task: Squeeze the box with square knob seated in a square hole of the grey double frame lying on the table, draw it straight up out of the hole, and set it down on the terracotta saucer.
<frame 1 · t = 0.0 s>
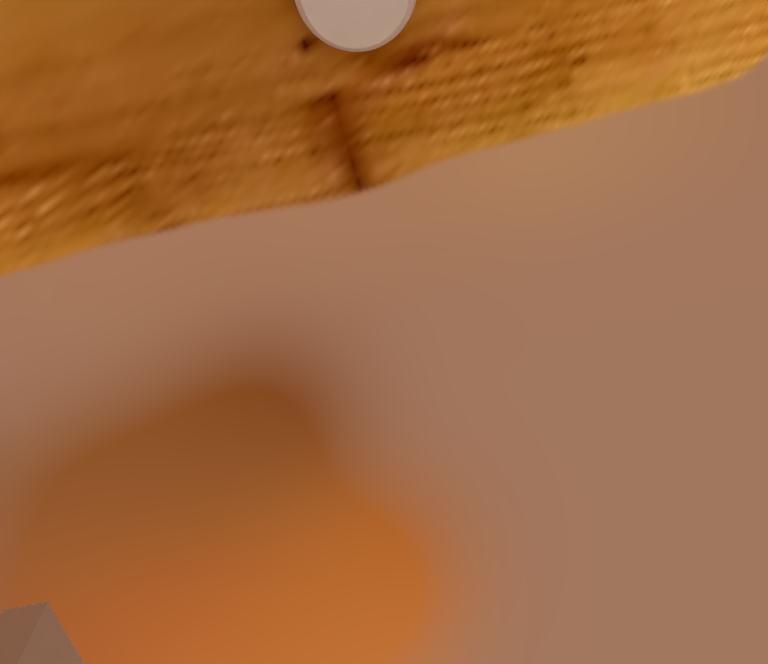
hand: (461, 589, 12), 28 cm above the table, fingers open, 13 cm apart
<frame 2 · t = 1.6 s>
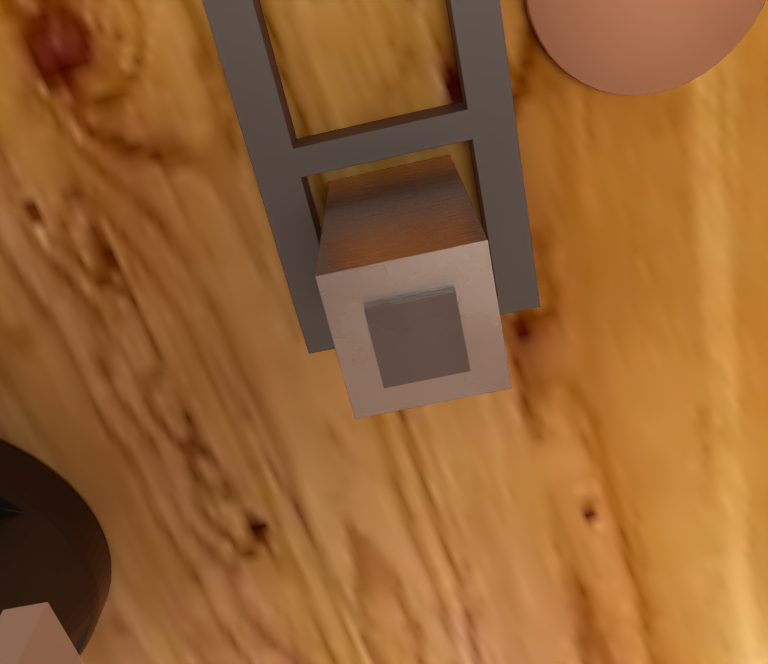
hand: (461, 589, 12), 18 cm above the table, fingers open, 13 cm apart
grey double frame: (381, 134, 26), on the table
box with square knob: (401, 225, 28), resting in grey double frame
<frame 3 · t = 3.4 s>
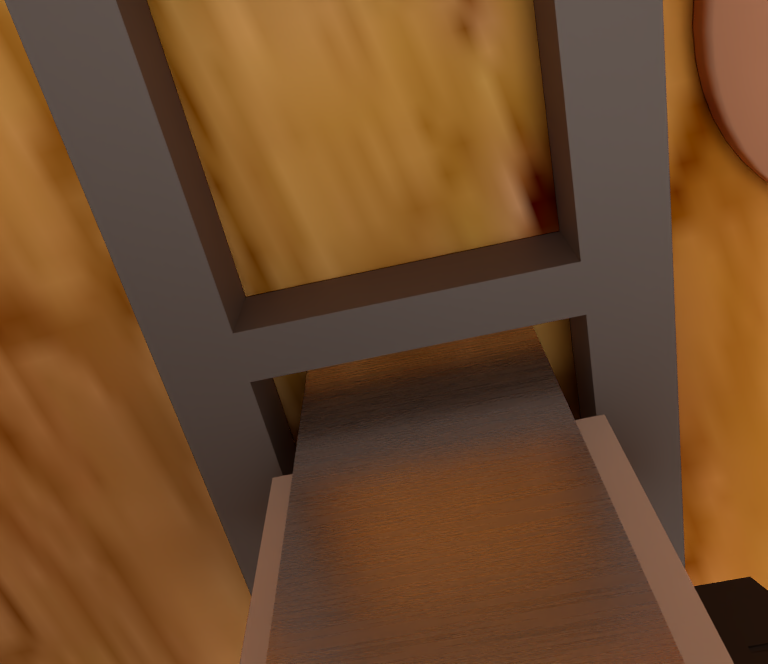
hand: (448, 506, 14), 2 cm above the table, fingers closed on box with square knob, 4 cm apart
grey double frame: (405, 288, 14), on the table
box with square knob: (438, 436, 16), resting in grey double frame, touching gripper
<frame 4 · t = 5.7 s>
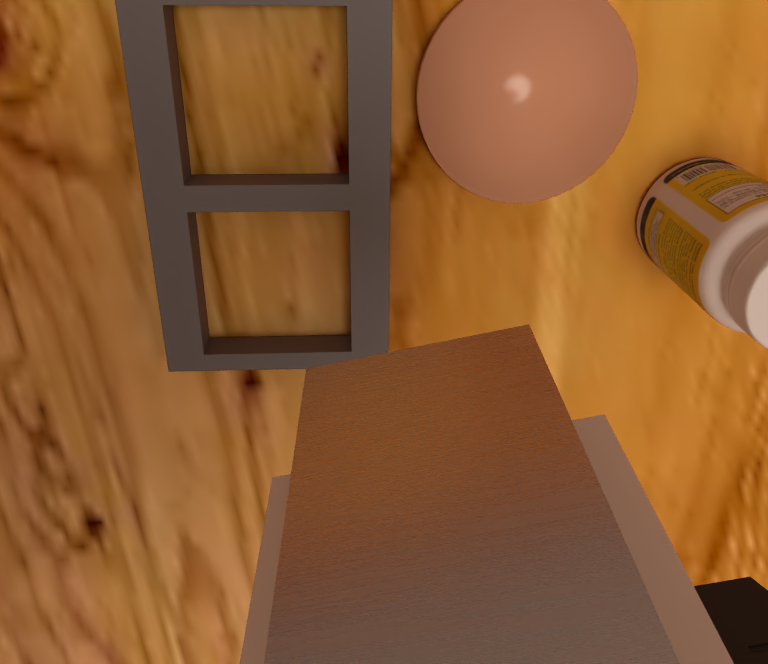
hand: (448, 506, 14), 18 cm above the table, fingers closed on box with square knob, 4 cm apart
grey double frame: (271, 186, 28), on the table
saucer: (522, 92, 27), on the table
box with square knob: (436, 438, 16), point 15 cm above the table, touching gripper
supplement bottle: (689, 212, 30), on the table
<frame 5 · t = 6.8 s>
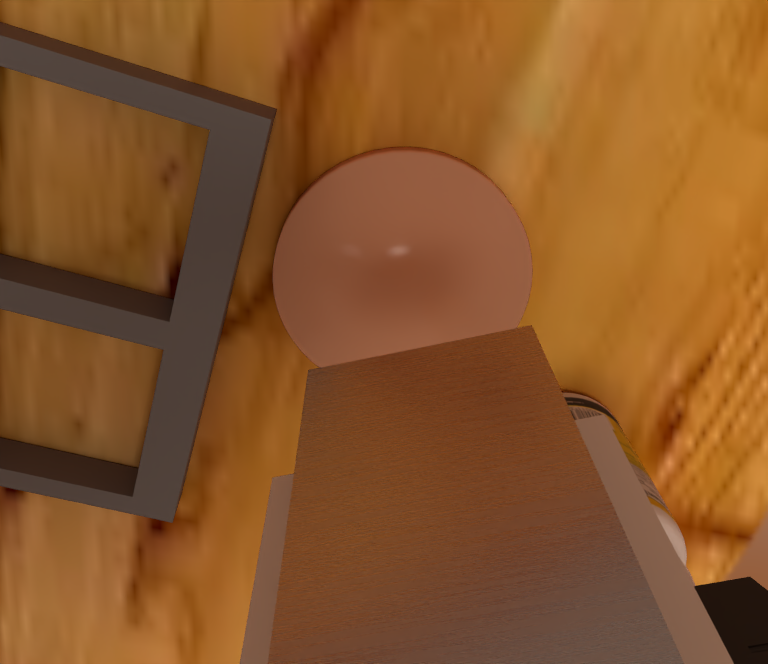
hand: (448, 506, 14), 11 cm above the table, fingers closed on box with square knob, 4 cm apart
grey double frame: (82, 290, 23), on the table
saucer: (401, 273, 23), on the table
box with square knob: (439, 439, 16), point 9 cm above the table, touching gripper
supplement bottle: (552, 440, 27), on the table
when the fingers open (4 cm above the table, at t = 7.7 s): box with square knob drops 1 cm, resting on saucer.
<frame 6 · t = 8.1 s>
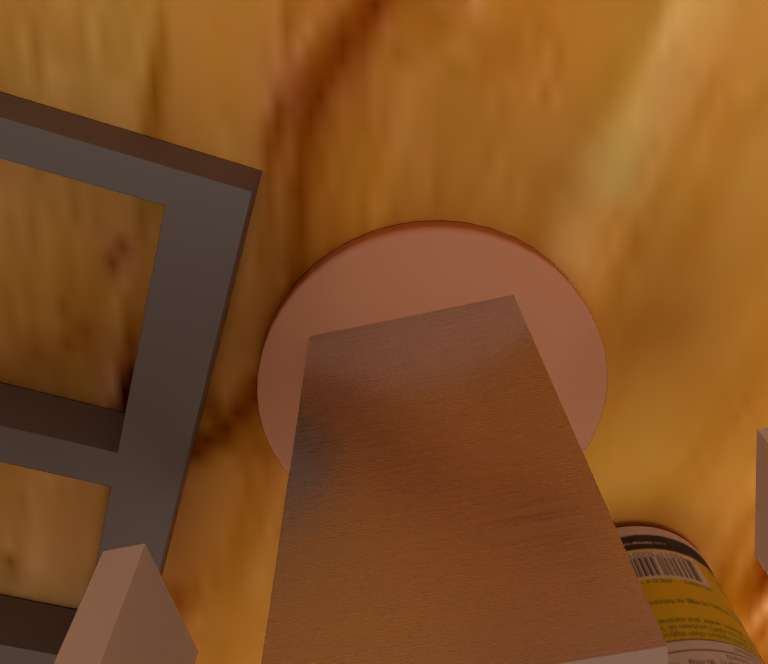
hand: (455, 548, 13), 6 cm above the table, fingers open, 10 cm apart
grey double frame: (6, 401, 18), on the table
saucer: (429, 381, 18), on the table
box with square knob: (429, 401, 17), point 1 cm above the table, touching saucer
supplement bottle: (619, 579, 21), on the table
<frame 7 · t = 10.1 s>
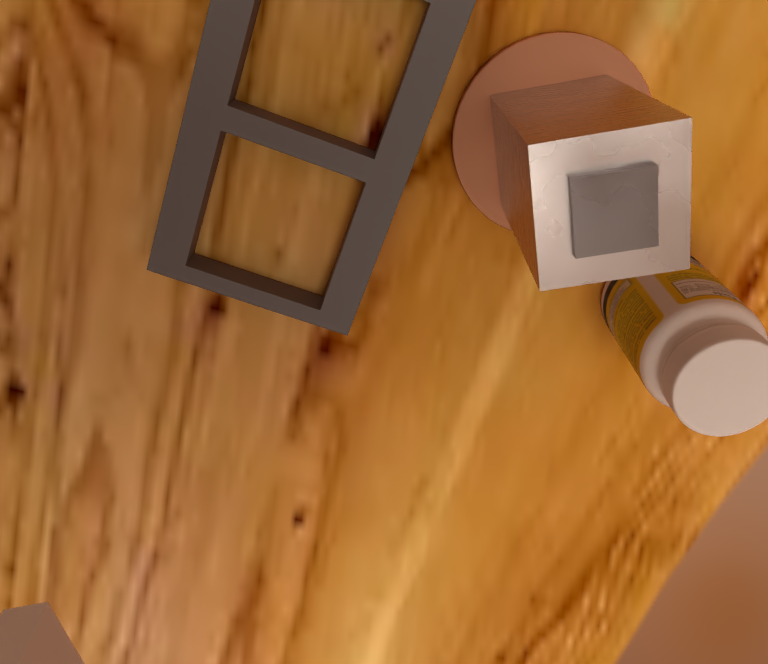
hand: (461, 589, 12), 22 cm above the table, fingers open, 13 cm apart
grey double frame: (302, 137, 30), on the table
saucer: (549, 136, 30), on the table
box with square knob: (551, 142, 29), point 1 cm above the table, touching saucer
supplement bottle: (651, 292, 33), on the table
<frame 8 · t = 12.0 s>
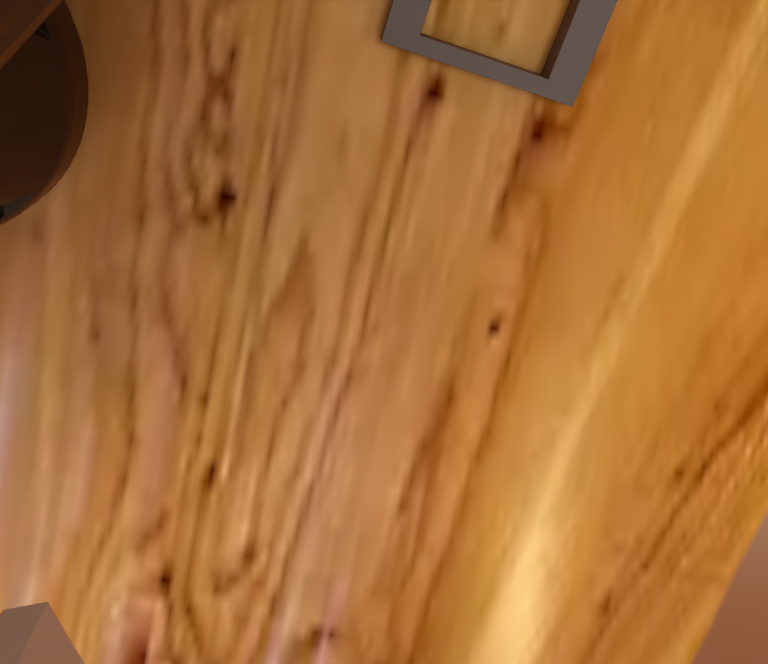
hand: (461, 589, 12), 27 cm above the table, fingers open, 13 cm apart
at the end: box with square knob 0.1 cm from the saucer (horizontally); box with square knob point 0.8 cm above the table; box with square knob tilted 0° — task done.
